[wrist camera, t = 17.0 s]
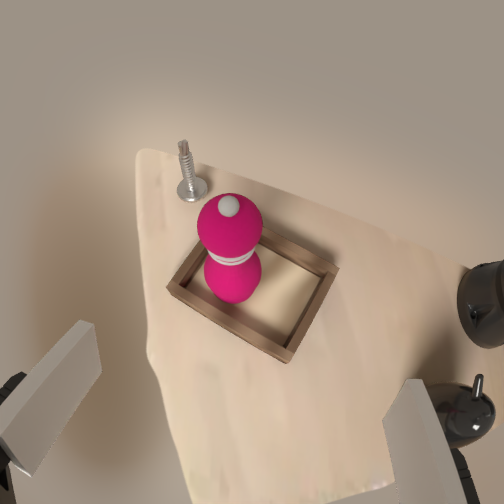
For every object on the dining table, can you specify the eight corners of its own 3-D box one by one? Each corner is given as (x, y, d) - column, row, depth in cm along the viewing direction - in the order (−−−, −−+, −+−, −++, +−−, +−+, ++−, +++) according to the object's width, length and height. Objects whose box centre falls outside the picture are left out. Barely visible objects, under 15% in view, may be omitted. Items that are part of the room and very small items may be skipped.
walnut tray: (332, 276, 45) (339, 268, 42) (285, 363, 40) (289, 361, 37) (226, 218, 49) (225, 206, 46) (171, 294, 43) (165, 287, 40)
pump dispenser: (445, 375, 39) (512, 362, 25) (449, 436, 35) (515, 441, 21) (391, 389, 39) (453, 384, 25) (395, 455, 34) (456, 474, 21)
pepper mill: (225, 249, 45) (216, 154, 27) (269, 273, 44) (288, 188, 26) (197, 290, 43) (166, 214, 25) (242, 317, 41) (244, 257, 23)
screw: (175, 205, 49) (184, 182, 51) (203, 211, 49) (212, 186, 51) (158, 151, 38) (171, 126, 40) (194, 156, 37) (205, 130, 39)
